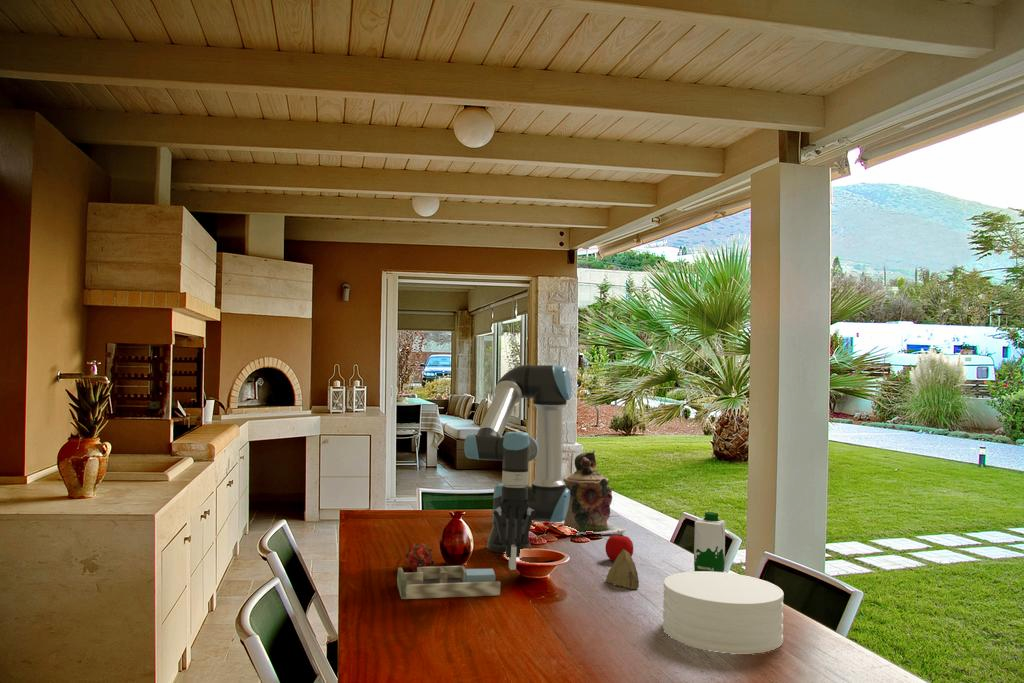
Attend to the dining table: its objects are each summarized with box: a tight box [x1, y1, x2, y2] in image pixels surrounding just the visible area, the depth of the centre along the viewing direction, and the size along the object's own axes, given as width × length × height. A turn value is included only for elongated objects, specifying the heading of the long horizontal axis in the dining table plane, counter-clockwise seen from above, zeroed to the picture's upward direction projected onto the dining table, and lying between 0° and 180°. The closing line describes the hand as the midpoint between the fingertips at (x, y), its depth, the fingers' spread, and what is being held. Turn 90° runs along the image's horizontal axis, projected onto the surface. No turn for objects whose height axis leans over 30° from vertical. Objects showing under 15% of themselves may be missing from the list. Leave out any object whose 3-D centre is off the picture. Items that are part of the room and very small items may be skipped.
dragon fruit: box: [405, 542, 435, 572], centre depth 235 cm, size 8×8×12 cm
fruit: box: [605, 531, 634, 562], centre depth 253 cm, size 9×9×10 cm
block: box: [465, 568, 496, 582], centre depth 215 cm, size 8×7×5 cm
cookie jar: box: [556, 449, 627, 536], centre depth 303 cm, size 25×25×32 cm
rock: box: [604, 549, 640, 590], centre depth 223 cm, size 11×9×10 cm
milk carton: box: [693, 511, 726, 572], centre depth 232 cm, size 9×9×20 cm
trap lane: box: [396, 565, 501, 600], centre depth 216 cm, size 27×19×5 cm
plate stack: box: [662, 570, 785, 653], centre depth 184 cm, size 28×28×12 cm
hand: (512, 568), depth 217 cm, fingers closed
